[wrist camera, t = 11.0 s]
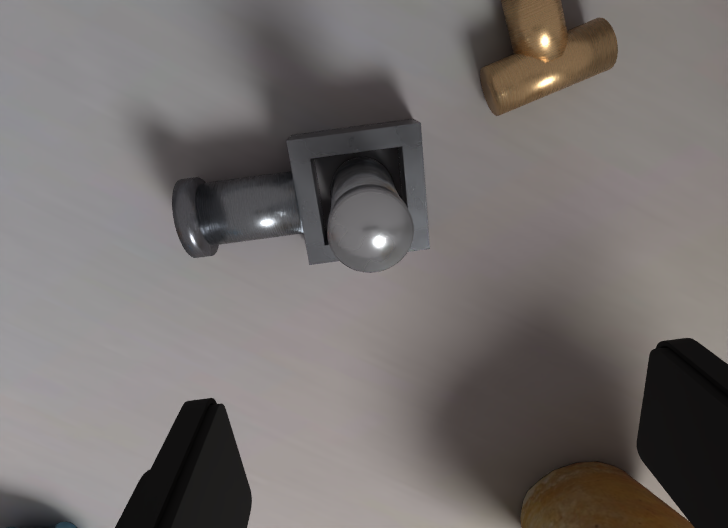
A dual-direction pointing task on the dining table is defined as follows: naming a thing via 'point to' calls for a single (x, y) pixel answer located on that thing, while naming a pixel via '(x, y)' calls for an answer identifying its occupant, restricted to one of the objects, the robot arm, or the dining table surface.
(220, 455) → the robot arm
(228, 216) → the grey framed piece
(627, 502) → the potted plant
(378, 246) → the silver capped cylinder
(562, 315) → the dining table surface
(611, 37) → the bronze tee
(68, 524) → the teapot
